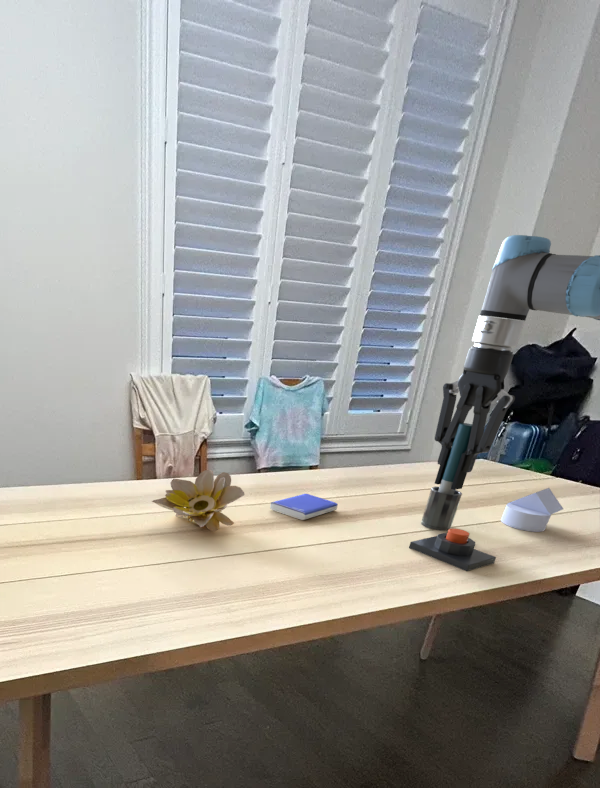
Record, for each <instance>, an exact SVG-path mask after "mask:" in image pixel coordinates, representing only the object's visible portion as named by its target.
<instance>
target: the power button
mask: <svg viewBox="0 0 600 788" xmlns="http://www.w3.org/2000/svg"><path fill="white" fill-rule="evenodd" d="M446 533H447V536H446V539H447V540H449V541H451V542H455V543H460V544H466V543H467V540H468V538H470V533H469V531H467V530H464V529H461V528H450V529H449V530H448V531H447V532H446Z"/></svg>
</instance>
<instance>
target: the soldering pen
mask: <svg viewBox="0 0 600 788" xmlns="http://www.w3.org/2000/svg"><path fill="white" fill-rule="evenodd" d="M471 428H472V423H467V422H464V423H459V426H458V429H457V432H456V436H455V439H454V442H453V445H452V448H451V452H450V455H449V458H448V461H447V464H446V468H445V471H444V474H443V477H442V480H441V483H440V484H439V486H438V487H439V490H438V492H441V493H446V494H453V495H454V492H455V490H453V489H451V486H452V483H453V480H454V477H455V474H456V471H457V468H458V465H459V462H460V459H461V456H462V453H465V451H467V449H468V444H469V439H470V433H471Z"/></svg>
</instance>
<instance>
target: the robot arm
mask: <svg viewBox="0 0 600 788" xmlns="http://www.w3.org/2000/svg"><path fill="white" fill-rule="evenodd" d="M551 245H552V241H551V240H550V239H549V238H547V237H544V236H537V235H527V234H513V235H509V236H507V237H505V239H503V241H502V243H501V245H500V247H499V251H498V253H497V256H496V259H495V262H494V264H493V267H492V269H491V275H490V279H489V282H488V285H487V288H486V292H485V297H484V299H483V303H482V306H481V309H480V312H479V315H478V318H477V322H476V326H475V328H474V332H473V335H472V338H471V342H472V343H474V344H473V346H470V347H469V348H468V351H467V354H466V357H465V361H464V363H463V371H462V373H461V375H460V376H459V378H457V379H458V380H457V381H454V382H449V383H448V382H445V383H444V384H443V386H442V392H443V393H442V394H443V398H442V403H441V407H440V412H439V417H438V421H437V426H436V430H435V434H434V441H435V442H438V443H439V444H440V446H441V449H440V452H439V455H438V458H437V465H438V466H439V468H438V471H437V474H436V476H435V480H434V485H440V483H441V480H442V477H443V474H444V471H445V468H446V464H447V461H448V458H449V455H450V452H451V448H452V445H453V442H454V439H455V436H456V432H457V429H458V426H459V423H465V422H466V419H467V416H468V414H469V412H470V411H471V409H473V419H472V422H471V424H472V428H471V433H470V439H469V444H468V449H467V451H465V453H462V456H461V459H460V462H459V465H458V468H457V471H456V474H455V477H454V480H453V483H452V486H451V489H453V490H462V489H463V486H464V483H465V480H466V477H467V474H468V473H471V472H472V471H473V469H474V467H475V463H476V460H477V457H478V456H479V455H480V454H485V453H488V452H490V450H491V449H492V446H493V443H494V441H495V439H496V436H497V434H498V432H499V430H500V427H501V425H502V422H503V420H504V418H505V416H506V414H507V411H508V409H509V408H510V407H511V405H512V404H513V403H514V402H515V400H516V396H515V395H511V394H509V393H508V392H507V391H506V390H505V379H506V377H507V375H508V374H509V370H510V367H511V364H512V361H513V358H514V356H515V354H514V352H513V351H512V350H513V349H515V348H517V347H518V345H519V340H520V338H521V335H522V331H523V328H524V325H525V323H526V320H527V317H528V314H529V312H530V310H531V311H535V312H536V311H540V312H548V313H554V314H561V315H569V316H574V317H579V318H581V317H582V318H584V317H585V318H589V319H593V320H596V321H600V255H597V254H595V255H578V254H577V255H576V254H573V255H572V254H556V253H552V252H551V247H552V246H551ZM458 394H459V396H460V397H459V400H458V402H457V395H458ZM494 400H495V404H496V405H495V406H494V408H493V409H492V411H491V415H490V417H489V419H488V421H487V418H488V414H489V413H490V410H491V406H492V403H493V402H494ZM456 402H457V404H456ZM455 406H456V410H455ZM454 410H455V412H454ZM486 423H487V424H486Z"/></svg>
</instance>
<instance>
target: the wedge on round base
mask: <svg viewBox="0 0 600 788" xmlns="http://www.w3.org/2000/svg"><path fill="white" fill-rule="evenodd" d="M563 510H564V508H563V506H562V505H561V503H560V501H559V500H558V498H557V497H556V495H555V494H554V493H553V491H552V490H551V488H550V487H546V488H544V489H541V490H539V491H535V492H533V493H530V494H528V495H526V496H525V495H524V496H522V497H519V498H517V499H515V500H512V501H509V502H507V503H506V505H505V508H504V510H503V513H502V515H501V518H500V522H501V523H503V524H504V525H506V526H508V527H510V528H514V529H517V530H520V531H526V532H533V533H534V532H536V533H539V532H544V531H545V530H546V529H547V525H548V523H549V522H550V519H551V516H552V515H554V514H555V513H558V512H560V511H563Z"/></svg>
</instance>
